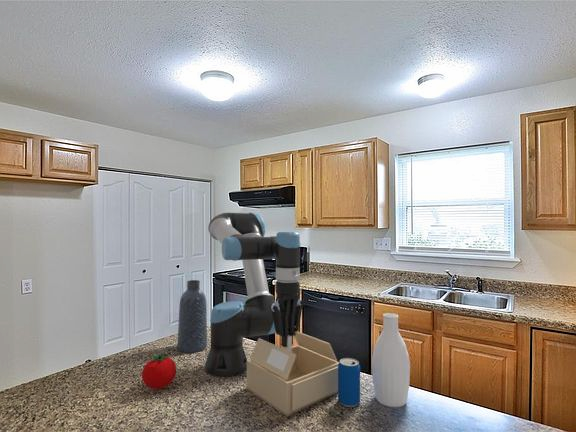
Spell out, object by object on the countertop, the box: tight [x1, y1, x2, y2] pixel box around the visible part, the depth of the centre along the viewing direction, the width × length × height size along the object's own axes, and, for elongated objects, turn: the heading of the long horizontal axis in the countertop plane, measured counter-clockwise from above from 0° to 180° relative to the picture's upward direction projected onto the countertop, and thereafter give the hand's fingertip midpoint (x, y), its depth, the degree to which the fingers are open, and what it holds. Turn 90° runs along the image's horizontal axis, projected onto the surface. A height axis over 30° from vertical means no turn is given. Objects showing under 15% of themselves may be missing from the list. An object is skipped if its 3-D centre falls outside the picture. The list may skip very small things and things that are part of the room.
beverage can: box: [337, 357, 361, 408], centre depth 100 cm, size 6×6×12 cm
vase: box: [176, 279, 208, 353], centre depth 143 cm, size 12×12×28 cm
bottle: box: [371, 312, 411, 408], centre depth 102 cm, size 11×11×25 cm
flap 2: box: [293, 331, 338, 362], centre depth 112 cm, size 18×1×7 cm, turn 40°
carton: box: [246, 344, 340, 418], centre depth 107 cm, size 22×22×9 cm
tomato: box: [141, 353, 177, 390], centre depth 108 cm, size 10×10×10 cm
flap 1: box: [249, 337, 296, 380], centre depth 101 cm, size 18×1×7 cm
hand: (287, 356), depth 105 cm, fingers closed
